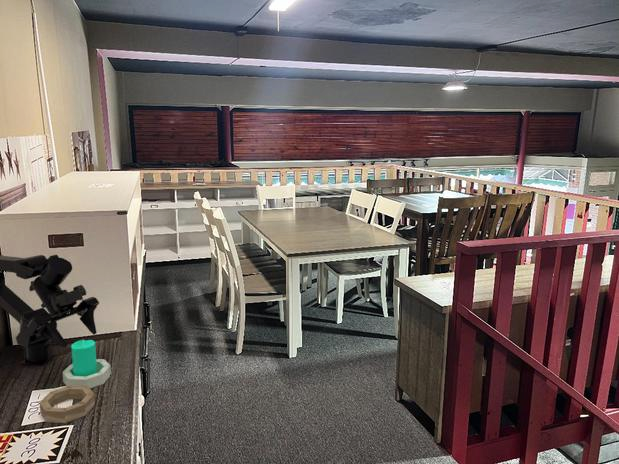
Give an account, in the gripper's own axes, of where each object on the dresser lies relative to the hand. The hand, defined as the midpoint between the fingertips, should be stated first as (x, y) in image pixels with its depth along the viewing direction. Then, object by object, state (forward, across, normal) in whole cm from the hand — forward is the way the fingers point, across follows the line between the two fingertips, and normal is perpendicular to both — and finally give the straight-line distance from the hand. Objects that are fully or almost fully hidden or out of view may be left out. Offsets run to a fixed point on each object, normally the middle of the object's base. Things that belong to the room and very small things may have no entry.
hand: (81, 340), depth 123 cm
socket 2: (+15, -12, +1) cm, 19 cm away
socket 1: (+9, 0, +7) cm, 11 cm away
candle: (+9, 0, +7) cm, 11 cm away
